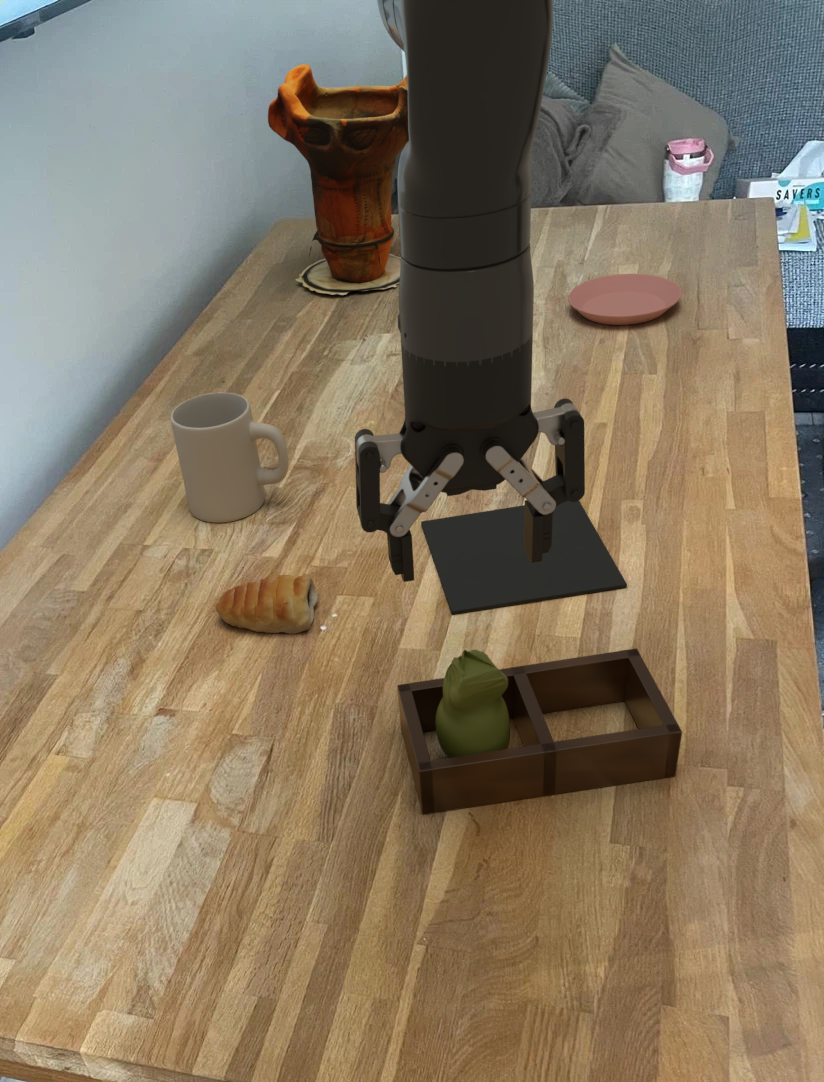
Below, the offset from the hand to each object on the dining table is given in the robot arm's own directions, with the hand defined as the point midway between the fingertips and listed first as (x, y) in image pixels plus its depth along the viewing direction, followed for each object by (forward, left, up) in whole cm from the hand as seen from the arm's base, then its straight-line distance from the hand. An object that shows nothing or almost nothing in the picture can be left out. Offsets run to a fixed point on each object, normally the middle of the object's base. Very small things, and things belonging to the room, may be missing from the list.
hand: (470, 565), depth 73 cm
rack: (-5, 0, -18) cm, 19 cm away
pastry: (+14, -23, -18) cm, 33 cm away
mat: (-10, -27, -18) cm, 34 cm away
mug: (+16, -45, -18) cm, 51 cm away
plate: (-37, -80, -18) cm, 90 cm away
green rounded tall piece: (0, 0, -18) cm, 18 cm away
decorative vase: (-6, -108, -18) cm, 110 cm away
